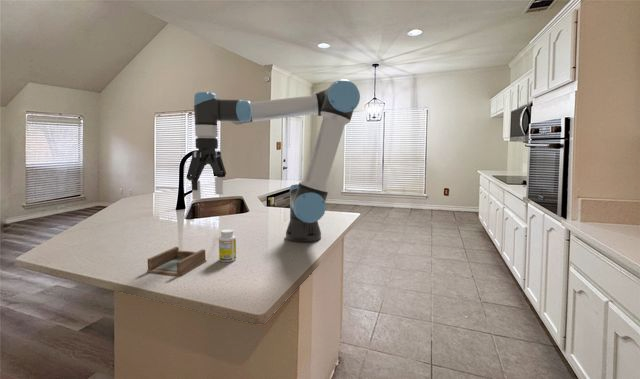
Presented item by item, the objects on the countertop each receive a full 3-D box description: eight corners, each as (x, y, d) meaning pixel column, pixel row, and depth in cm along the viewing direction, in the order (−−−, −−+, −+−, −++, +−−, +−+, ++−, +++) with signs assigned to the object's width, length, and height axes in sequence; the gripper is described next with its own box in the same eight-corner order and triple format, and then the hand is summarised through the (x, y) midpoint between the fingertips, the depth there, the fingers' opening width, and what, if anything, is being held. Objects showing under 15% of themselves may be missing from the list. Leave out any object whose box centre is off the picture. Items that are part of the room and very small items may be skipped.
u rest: (206, 261, 110) (206, 249, 110) (181, 276, 98) (181, 262, 97) (175, 258, 113) (174, 246, 113) (147, 272, 101) (146, 259, 100)
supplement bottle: (230, 256, 116) (229, 227, 115) (239, 259, 113) (239, 230, 111) (216, 260, 112) (215, 230, 111) (225, 263, 108) (224, 233, 107)
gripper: (217, 138, 130) (218, 191, 132) (173, 136, 106) (176, 201, 109) (234, 138, 128) (235, 192, 130) (193, 136, 104) (195, 202, 106)
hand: (208, 196), depth 119 cm, fingers open, 13 cm apart
